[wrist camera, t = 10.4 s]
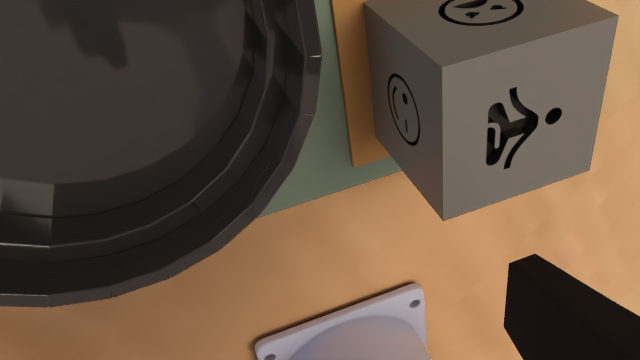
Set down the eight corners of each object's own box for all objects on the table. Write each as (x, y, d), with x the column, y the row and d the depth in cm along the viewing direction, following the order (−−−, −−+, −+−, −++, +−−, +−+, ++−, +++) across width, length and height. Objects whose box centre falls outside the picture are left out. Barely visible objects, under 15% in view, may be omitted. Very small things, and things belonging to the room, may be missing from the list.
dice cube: (363, 1, 18) (442, 67, 14) (507, -37, 19) (618, 15, 15) (375, 137, 21) (443, 221, 17) (498, 98, 22) (589, 170, 18)
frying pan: (316, 166, 21) (347, 219, 19) (-71, 290, 19) (-93, 368, 16) (231, -307, 13) (266, -324, 11) (-469, -193, 11) (-631, -181, 8)
